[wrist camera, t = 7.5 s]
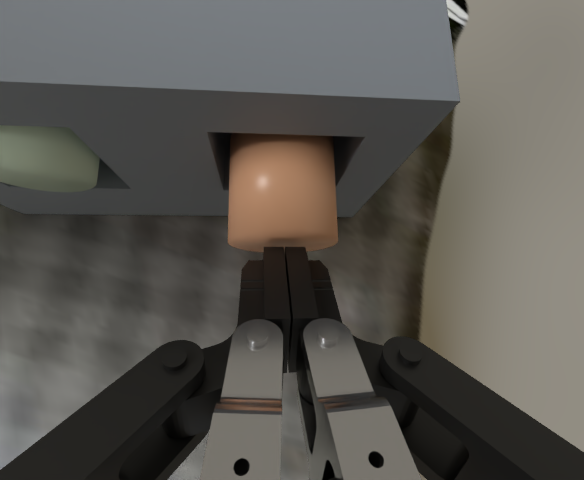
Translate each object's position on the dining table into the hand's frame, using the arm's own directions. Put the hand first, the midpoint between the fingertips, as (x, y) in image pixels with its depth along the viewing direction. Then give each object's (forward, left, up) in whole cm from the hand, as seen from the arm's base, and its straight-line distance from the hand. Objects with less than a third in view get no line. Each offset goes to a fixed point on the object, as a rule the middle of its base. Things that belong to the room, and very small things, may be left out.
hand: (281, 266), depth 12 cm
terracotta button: (-2, +2, -2) cm, 3 cm away
